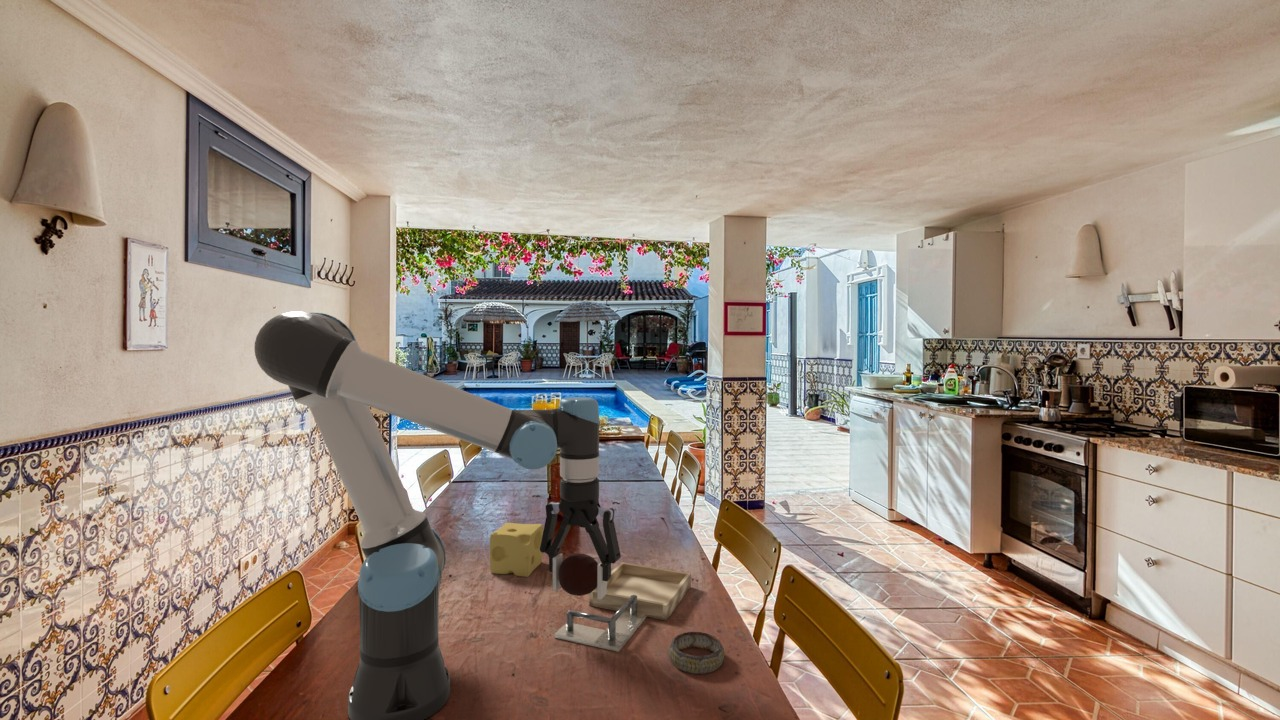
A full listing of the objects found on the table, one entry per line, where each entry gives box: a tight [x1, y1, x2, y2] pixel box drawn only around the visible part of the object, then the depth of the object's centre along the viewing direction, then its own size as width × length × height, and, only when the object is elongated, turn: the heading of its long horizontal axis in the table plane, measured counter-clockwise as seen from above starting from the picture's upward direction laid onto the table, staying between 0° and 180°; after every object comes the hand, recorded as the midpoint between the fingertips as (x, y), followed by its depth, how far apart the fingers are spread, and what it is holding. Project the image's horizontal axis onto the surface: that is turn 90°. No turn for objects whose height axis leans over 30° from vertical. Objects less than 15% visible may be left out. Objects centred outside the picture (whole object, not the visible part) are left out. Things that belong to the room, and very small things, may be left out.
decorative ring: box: [668, 631, 726, 675], centre depth 107 cm, size 10×3×10 cm
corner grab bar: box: [554, 595, 648, 653], centre depth 120 cm, size 16×14×5 cm
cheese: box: [489, 522, 544, 578], centre depth 149 cm, size 10×11×10 cm
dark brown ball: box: [558, 553, 599, 597], centre depth 115 cm, size 8×9×8 cm
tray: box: [588, 561, 692, 621], centre depth 133 cm, size 18×18×3 cm
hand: (579, 592), depth 115 cm, fingers closed on dark brown ball, 9 cm apart
